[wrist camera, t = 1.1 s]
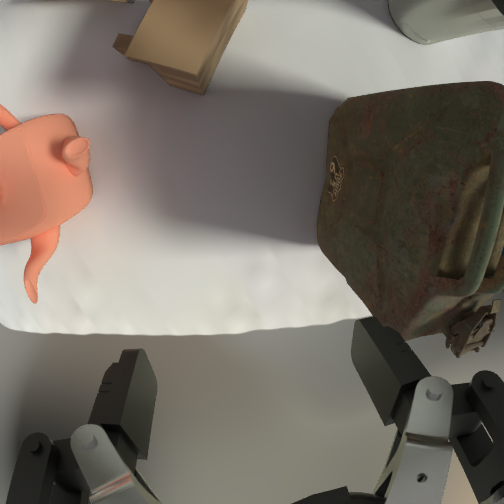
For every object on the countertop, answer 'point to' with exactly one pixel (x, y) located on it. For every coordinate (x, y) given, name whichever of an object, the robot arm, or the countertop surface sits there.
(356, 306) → the countertop surface
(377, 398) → the robot arm
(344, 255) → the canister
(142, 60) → the slotted wooden stand
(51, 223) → the pot
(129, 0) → the rail
